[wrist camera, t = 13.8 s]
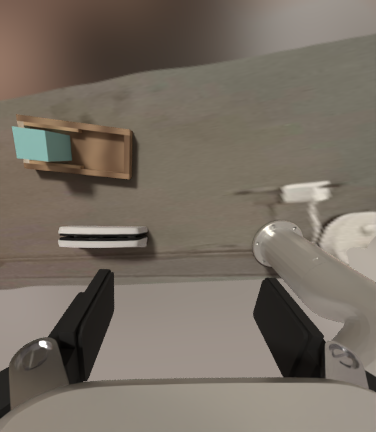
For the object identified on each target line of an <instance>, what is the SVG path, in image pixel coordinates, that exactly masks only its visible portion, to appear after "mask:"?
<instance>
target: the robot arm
mask: <svg viewBox="0 0 376 432" xmlns="http://www.w3.org/2000/svg"><path fill="white" fill-rule="evenodd" d="M252 249H253V253H254V256H255V257H256V259H257V260H258V261H259V262H260V263H261V264H263V265H265V266H269V267H272V268H273V269H274V270H275V271H276V272H277V273H278V274H279V276H280V277H281V278H282V279H283V280H284V281H285V282H286V283H287V284H288V286H289V287H290V288H291V289H292V290H293V291H294V292H295V294H296V295H297V296H298V297H299V298H300V299H301V300H302V302H303V303H304V304H305V305H306V306H307V307H308V308H309V309H310V310H311V311H313V312H314V313H316V314H317V315H319V316H321V317H323V318H326V319H329V320H332V321H336V322H342V323H344V326H343V328H342V329H341V330H340V331H339V332H338V334H337V335H336V336H335V337H334V338H333V340H331V341H327V342H325V341H324V339H323V338H324V335H323V334H322V333H321V332H320V331H319V329H318V328H317V327H316V326H315V325H314V323H313V322H312V321H311V320H310V319H309V318H308V316H307V315H306V314H305V313H304V312H303V310H302V309H301V308H300V307H299V305H298V304H297V303H296V302H295V301H294V300H293V298H292V297H291V296H290V295H289V293H288V292H287V291H286V290H285V289H284V287H283V286H282V285H281V284H280V283H279V281H278V280H277V279H276V278H265V280H263V281H262V284H261V288H260V291H259V294H258V298H257V301H256V305H255V308H254V313H253V316H254V319H255V321H256V323H257V325H258V327H259V329H260V331H261V333H262V335H263V337H264V339H265V341H266V343H267V345H268V347H269V349H270V351H271V353H272V355H273V357H274V359H275V362H276V363H277V366H278V368H279V370H280V371H281V374H282V375H283V378H280V377H277V378H174V379H129V380H102V381H90V382H83V381H87V380H88V378H89V376H90V373H91V370H92V368H93V365H94V362H95V360H96V357H97V355H98V352H99V350H100V347H101V344H102V342H103V339H104V337H105V334H106V331H107V329H108V326H109V323H110V321H111V318H112V315H113V312H114V273H113V272H111V271H110V270H109V269H99V271H98V272H97V274H96V275H95V277H94V278H93V280H92V281H91V283H90V284H89V286H88V288H87V289H86V291H85V292H80V293H79V294H78V295H77V296H76V297H75V299H74V300H73V302H72V303H71V304H70V306H69V307H68V309H67V310H66V312H65V313H64V314H63V316H62V318H61V319H60V320H59V322H58V323H57V325H56V326H55V327H54V329H53V330H52V332H51V333H50V335H49V336H48V337H44V338H39V339H36V340H33V341H31V342H29V343H28V344H26V345H24V346H23V347H22V348H21V349H19V350H18V351H17V352H16V354H15V355H14V356H13V358H12V359H11V361H10V364H9V367H8V368H6V369H4V370H2V371H1V372H0V432H376V282H374V281H373V280H371V279H369V278H367V277H366V276H364V275H362V274H361V273H359V272H357V271H356V270H354V269H352V268H351V267H349V266H348V265H346V264H345V263H343V262H341V261H340V260H338V259H337V258H335V257H334V256H332V255H330V254H329V253H327V252H326V251H324V250H322V249H321V248H319V247H318V246H317V244H315V243H311V242H310V241H308V240H307V239H305V238H303V235H302V232H301V230H300V229H299V227H298V226H296V225H295V224H293V223H292V222H289V221H286V220H277V221H273V222H270V223H268V224H266V225H265V226H264V227H262V228H261V229H260V230H259V231H258V233H257V234H256V236H255V238H254V240H253V245H252Z"/></svg>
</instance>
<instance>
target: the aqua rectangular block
mask: <svg viewBox="0 0 376 432" xmlns="http://www.w3.org/2000/svg"><path fill="white" fill-rule="evenodd" d="M12 130H13V136H14V142H15V148H16V154H17V158H20V159H29V160H38V161H47V162H51V161H72V154H71V142H70V135H65V134H60V133H55V132H49V131H44V130H36V129H28V128H20V127H12Z"/></svg>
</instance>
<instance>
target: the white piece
mask: <svg viewBox="0 0 376 432" xmlns="http://www.w3.org/2000/svg"><path fill="white" fill-rule="evenodd" d="M146 232H148V230H147V227H136V226H65V227H60V228H59V232H58V233H60V235H61V236H66V237H61V238H60V240H58V243H59V246H60V247H80V248H112V247H146V246H147V244H146V243H147V238H148V237H146V236H139V235H143V234H146ZM102 236H118V237H117V238H104V237H102Z"/></svg>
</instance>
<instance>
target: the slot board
mask: <svg viewBox="0 0 376 432" xmlns="http://www.w3.org/2000/svg"><path fill="white" fill-rule="evenodd" d="M16 118H17V124H18V127H20V128H28V129H36V130H44V131H49V132H55V133H60V134H65V135H70V142H71V154H72V161H51V162H47V161H38V160H29V159H23V162H24V168H26V169H36V170H45V171H55V172H64V173H74V174H83V175H93V176H102V177H112V178H121V179H131V178H132V136H133V131H131V130H128V129H121V128H114V127H106V126H99V125H91V124H84V123H76V122H69V121H62V120H54V119H47V118H39V117H32V116H24V115H17V114H16Z"/></svg>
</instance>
